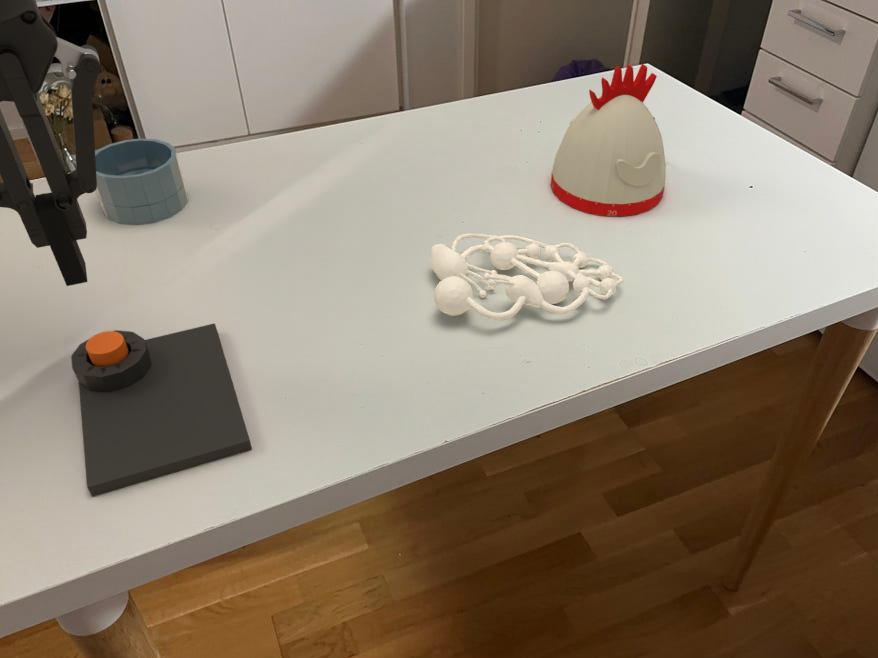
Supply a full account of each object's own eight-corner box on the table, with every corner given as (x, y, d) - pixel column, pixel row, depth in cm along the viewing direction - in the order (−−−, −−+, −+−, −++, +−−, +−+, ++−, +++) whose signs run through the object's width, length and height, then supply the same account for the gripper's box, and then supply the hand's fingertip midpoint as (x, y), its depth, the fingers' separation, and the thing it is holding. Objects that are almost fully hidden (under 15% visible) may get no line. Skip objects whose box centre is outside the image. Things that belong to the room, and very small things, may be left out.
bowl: (90, 225, 85) (68, 164, 80) (151, 190, 91) (133, 131, 86) (150, 247, 82) (130, 185, 77) (208, 210, 88) (193, 150, 83)
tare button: (90, 349, 65) (84, 336, 64) (127, 341, 66) (121, 327, 65) (92, 371, 63) (86, 357, 62) (130, 362, 64) (125, 348, 63)
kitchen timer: (684, 204, 91) (713, 81, 81) (584, 225, 87) (601, 98, 77) (625, 154, 101) (644, 38, 90) (532, 171, 96) (541, 51, 86)
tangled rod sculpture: (599, 253, 85) (605, 219, 82) (634, 325, 73) (642, 289, 71) (427, 255, 83) (427, 221, 80) (436, 331, 71) (436, 293, 69)
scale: (80, 365, 68) (69, 340, 66) (217, 332, 71) (210, 307, 69) (92, 497, 57) (78, 472, 55) (252, 450, 61) (245, 424, 59)
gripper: (-208, -31, 39) (-19, 322, 55) (66, -51, 43) (168, 282, 59) (-182, -66, 44) (-15, 266, 60) (61, -81, 48) (157, 233, 64)
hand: (76, 274), depth 59 cm, fingers closed
